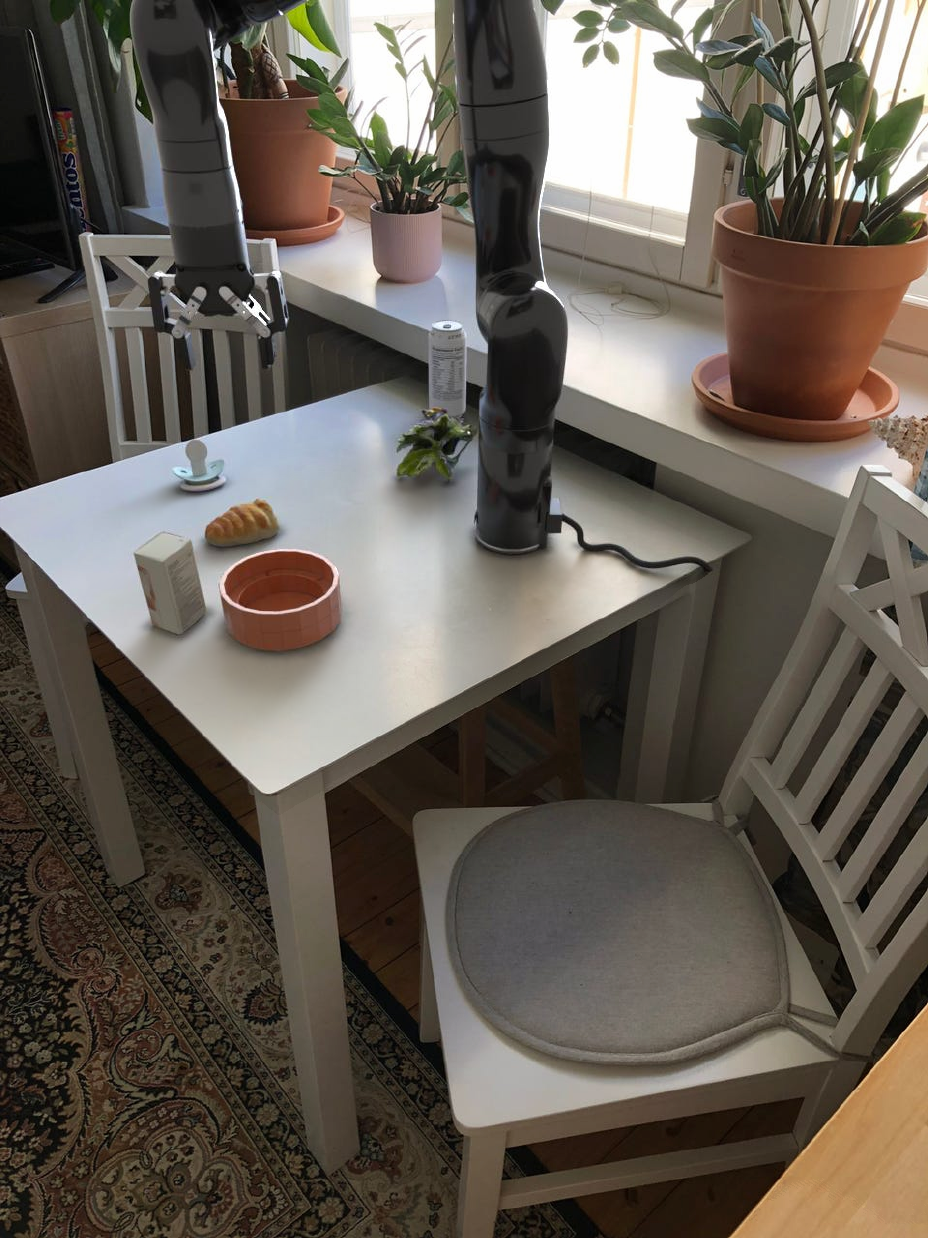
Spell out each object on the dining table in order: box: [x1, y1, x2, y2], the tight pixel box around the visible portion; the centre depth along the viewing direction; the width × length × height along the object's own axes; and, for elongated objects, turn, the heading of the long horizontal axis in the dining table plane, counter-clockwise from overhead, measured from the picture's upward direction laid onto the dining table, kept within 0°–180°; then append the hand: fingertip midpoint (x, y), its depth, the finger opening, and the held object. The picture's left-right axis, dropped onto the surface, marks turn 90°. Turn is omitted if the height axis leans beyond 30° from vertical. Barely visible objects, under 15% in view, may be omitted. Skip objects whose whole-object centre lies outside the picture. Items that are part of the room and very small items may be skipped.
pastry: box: [204, 498, 281, 548], centre depth 121 cm, size 9×7×4 cm
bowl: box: [218, 548, 343, 651], centre depth 106 cm, size 13×13×6 cm
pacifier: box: [172, 438, 227, 492], centre depth 132 cm, size 7×6×6 cm
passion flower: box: [395, 407, 478, 485], centre depth 135 cm, size 11×11×12 cm
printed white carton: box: [133, 531, 207, 635], centre depth 104 cm, size 5×4×10 cm
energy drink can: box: [428, 319, 468, 419], centre depth 150 cm, size 6×6×15 cm
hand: (229, 367), depth 104 cm, fingers open, 8 cm apart
